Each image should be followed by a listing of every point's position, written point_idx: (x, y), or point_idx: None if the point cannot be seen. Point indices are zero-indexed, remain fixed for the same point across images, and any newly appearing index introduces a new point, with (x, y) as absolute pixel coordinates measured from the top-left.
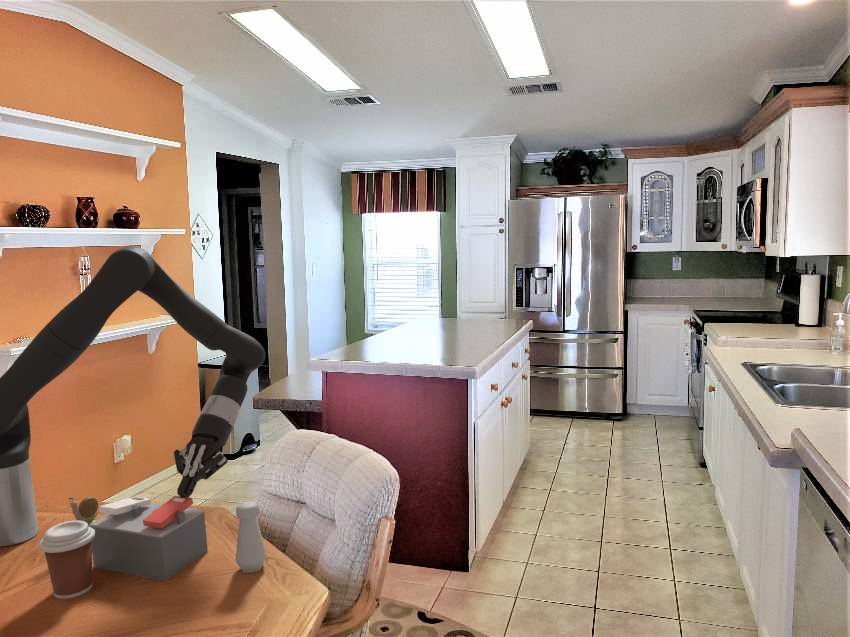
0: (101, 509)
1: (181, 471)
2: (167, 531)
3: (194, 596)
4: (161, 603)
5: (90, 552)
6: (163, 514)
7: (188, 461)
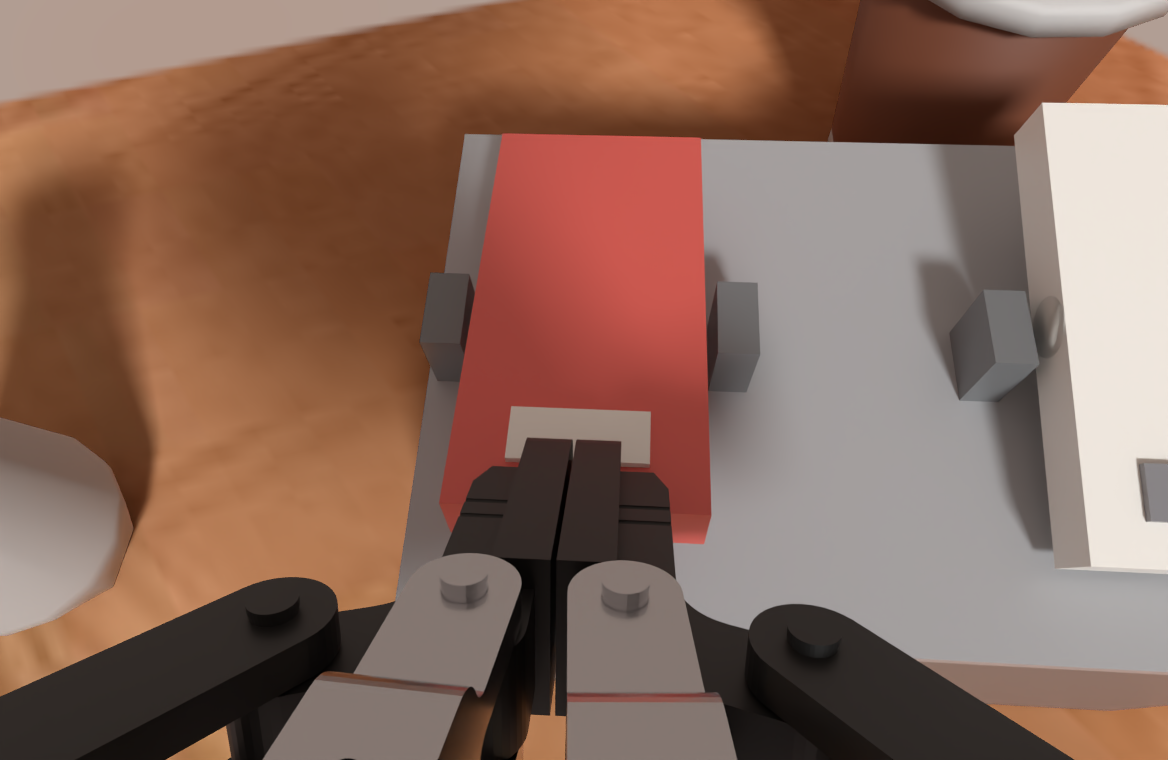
0: None
1: (755, 635)
2: (464, 194)
3: (271, 241)
4: (398, 165)
5: (887, 40)
6: (566, 218)
7: (637, 723)
